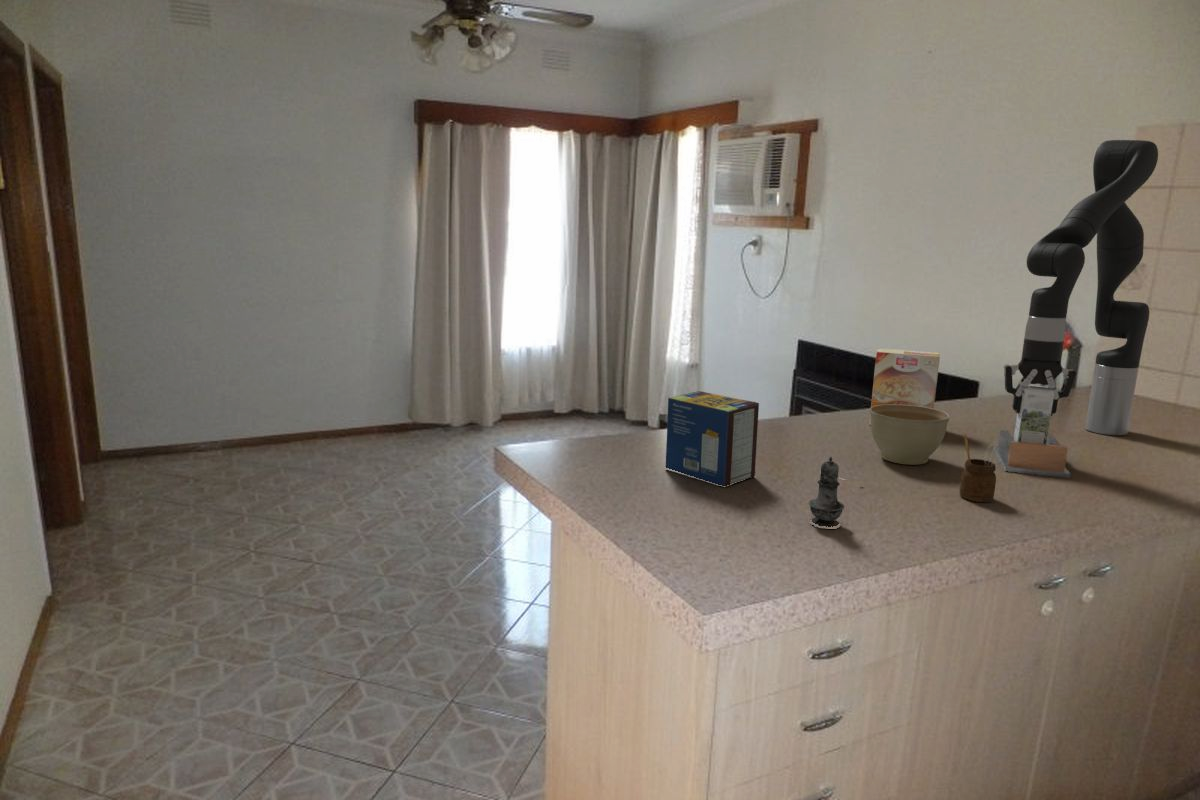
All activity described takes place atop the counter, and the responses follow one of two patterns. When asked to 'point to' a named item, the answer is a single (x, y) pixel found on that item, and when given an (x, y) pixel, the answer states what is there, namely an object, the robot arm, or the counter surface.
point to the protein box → (712, 437)
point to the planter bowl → (907, 432)
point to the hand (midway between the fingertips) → (1033, 413)
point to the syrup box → (1034, 415)
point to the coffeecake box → (905, 378)
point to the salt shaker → (827, 497)
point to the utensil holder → (978, 478)
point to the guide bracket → (1032, 456)
